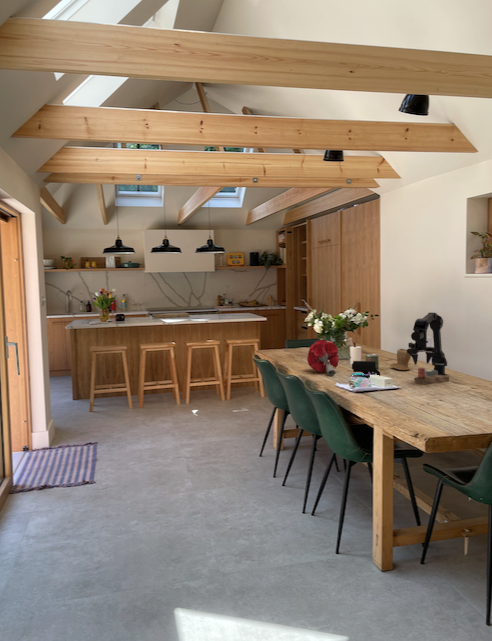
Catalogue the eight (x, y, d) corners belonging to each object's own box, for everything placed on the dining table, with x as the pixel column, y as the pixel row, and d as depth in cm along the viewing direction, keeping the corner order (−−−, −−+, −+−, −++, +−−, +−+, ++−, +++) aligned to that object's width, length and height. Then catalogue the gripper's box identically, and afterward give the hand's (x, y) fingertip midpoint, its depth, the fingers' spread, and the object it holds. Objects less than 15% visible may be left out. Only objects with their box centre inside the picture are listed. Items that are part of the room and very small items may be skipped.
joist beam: (440, 379, 327) (441, 374, 326) (448, 381, 320) (448, 376, 320) (414, 382, 319) (414, 377, 319) (422, 384, 313) (422, 379, 312)
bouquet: (345, 383, 353) (331, 356, 377) (349, 356, 339) (334, 330, 363) (315, 387, 349) (303, 360, 373) (318, 360, 336) (305, 334, 360)
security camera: (380, 377, 337) (380, 362, 336) (352, 376, 341) (352, 362, 340) (379, 375, 344) (379, 360, 343) (351, 374, 348) (351, 360, 347)
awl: (421, 382, 319) (421, 368, 319) (426, 383, 316) (426, 369, 315) (416, 382, 318) (416, 368, 317) (421, 383, 314) (421, 369, 314)
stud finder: (433, 377, 334) (434, 369, 334) (437, 378, 330) (437, 370, 329) (422, 378, 333) (423, 370, 332) (426, 379, 328) (426, 371, 328)
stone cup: (414, 370, 358) (414, 349, 357) (399, 371, 356) (399, 350, 354) (403, 367, 373) (404, 347, 371) (388, 368, 370) (388, 347, 369)
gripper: (424, 337, 326) (424, 361, 327) (401, 338, 319) (400, 363, 320) (437, 338, 316) (437, 363, 317) (412, 340, 309) (412, 366, 310)
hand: (421, 364), depth 316 cm, fingers open, 9 cm apart
